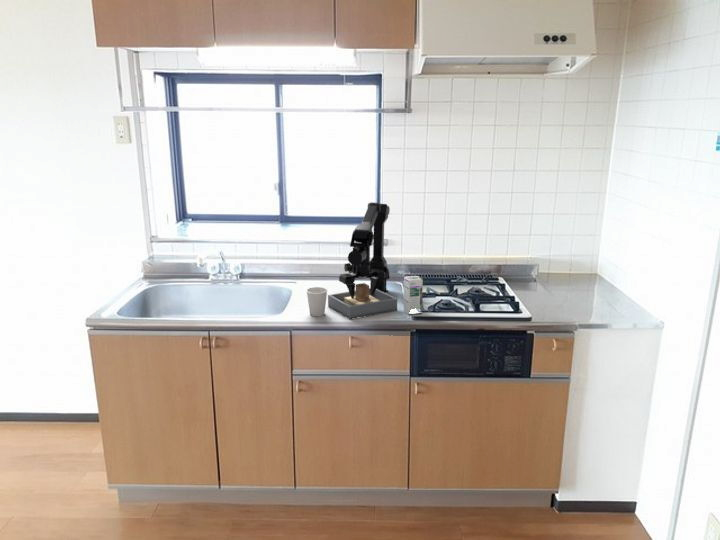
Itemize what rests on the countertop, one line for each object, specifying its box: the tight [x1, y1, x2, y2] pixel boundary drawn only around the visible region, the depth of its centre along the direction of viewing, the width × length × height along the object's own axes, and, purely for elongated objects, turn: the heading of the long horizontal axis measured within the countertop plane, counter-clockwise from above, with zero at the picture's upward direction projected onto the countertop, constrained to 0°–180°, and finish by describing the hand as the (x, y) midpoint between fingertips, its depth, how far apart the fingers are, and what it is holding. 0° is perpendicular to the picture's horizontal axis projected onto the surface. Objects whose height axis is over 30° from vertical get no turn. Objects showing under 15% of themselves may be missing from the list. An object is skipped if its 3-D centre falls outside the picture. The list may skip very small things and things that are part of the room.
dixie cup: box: [305, 286, 328, 317], centre depth 211 cm, size 8×8×10 cm
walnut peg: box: [355, 282, 370, 302], centre depth 218 cm, size 4×4×9 cm
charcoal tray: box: [327, 287, 398, 320], centre depth 218 cm, size 22×18×5 cm
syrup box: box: [403, 275, 424, 315], centre depth 213 cm, size 6×6×14 cm
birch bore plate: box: [344, 295, 381, 306], centre depth 218 cm, size 11×11×3 cm
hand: (362, 296), depth 218 cm, fingers open, 9 cm apart
